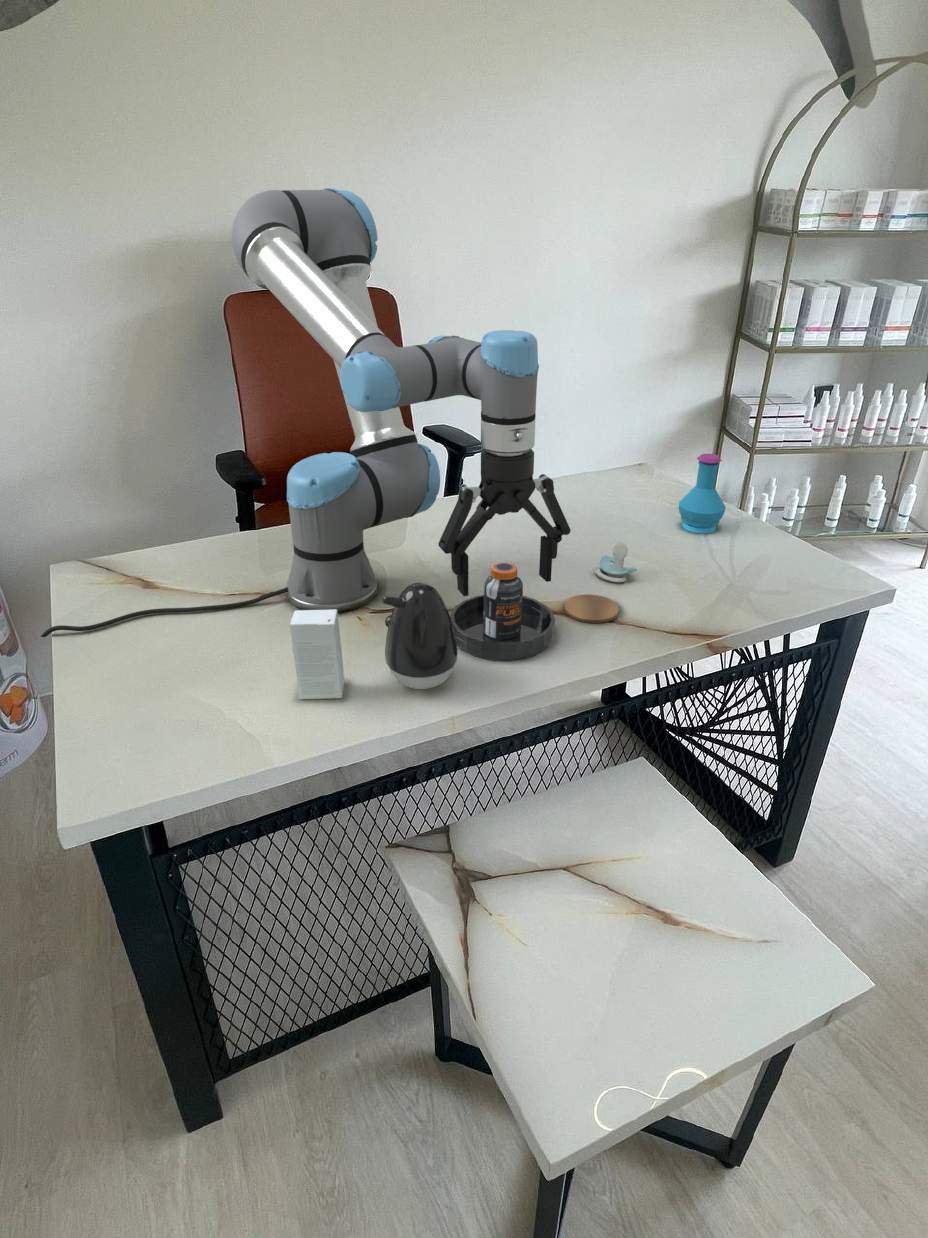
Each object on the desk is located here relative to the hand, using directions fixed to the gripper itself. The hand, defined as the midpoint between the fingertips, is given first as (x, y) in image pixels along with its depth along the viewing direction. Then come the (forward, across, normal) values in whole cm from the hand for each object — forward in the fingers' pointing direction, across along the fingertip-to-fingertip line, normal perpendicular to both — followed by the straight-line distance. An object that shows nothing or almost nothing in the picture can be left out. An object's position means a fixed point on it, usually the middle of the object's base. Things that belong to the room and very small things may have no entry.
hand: (504, 585), depth 122 cm
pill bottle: (+8, 0, 0) cm, 9 cm away
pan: (+9, 0, 0) cm, 9 cm away
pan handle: (+8, -12, +5) cm, 15 cm away
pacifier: (+9, +27, +12) cm, 31 cm away
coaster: (+9, +17, +2) cm, 19 cm away
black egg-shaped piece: (+9, -16, -8) cm, 20 cm away
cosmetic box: (+9, -30, -6) cm, 32 cm away
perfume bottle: (+9, +55, +26) cm, 62 cm away
